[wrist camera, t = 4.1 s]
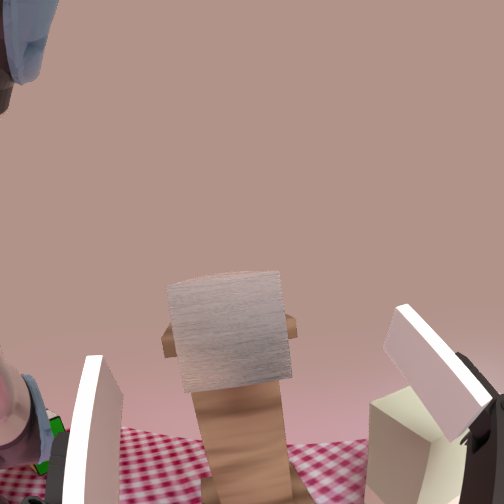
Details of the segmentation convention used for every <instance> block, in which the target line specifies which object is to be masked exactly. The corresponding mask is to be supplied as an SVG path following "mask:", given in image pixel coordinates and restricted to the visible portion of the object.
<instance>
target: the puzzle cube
mask: <svg viewBox="0 0 504 504" xmlns="http://www.w3.org/2000/svg"><path fill="white" fill-rule="evenodd" d="M45 409H46V412H47V415H48V419H49V422H50V427H51V430H52V433H53V436H54V438H55V437H56V435H57V433H58V432H66V431H65V429H64V426H63V423H62V421H61V418H60V416H58V415H57V414H55V413H53V412H52V411H50V410H48V409H47V408H46V407H45ZM29 466H30V467H31V468H32V469H33V470H34V471H35V472H36V473H37V474H38V475H40V476H41V475H43V474H45V473H47V472H48V466H49V460H48V461H44V462H42V463H41V464H36V465H35V464H31V465H29Z"/></svg>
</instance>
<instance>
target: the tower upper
mask: <svg viewBox="0 0 504 504" xmlns="http://www.w3.org/2000/svg"><path fill="white" fill-rule="evenodd" d="M499 394H500V393H499ZM369 412H370V413H369V445H368V462H367V475H366V484H367V485H368V487H369V488H370V489H371V490H372V491H373V492H374V493H375V494H376V495H377V496H378V497H379V498H380V499H381V500H382V501H383V502H384V503H385V504H448V503H449V502H451V501H452V500H453V499H455V498H456V497H457V496H459V495H460V494H461V489H462V483H463V476H464V468H465V460H466V450H467V445H464V444H465V443H466V441H467V440H466V441H465V442H464V443H463V444H462V445H460V441H461V440H462V438H463V437H464V436H465V435H466V434H467V433H468V432H469V431H470V430H469V428H467V429H466V431H465V432H464V433H463V434H462V435H461V436H459V437H458V438H456V439H455V440H453V441H452V442H449V441H448V439H447V438H446V436H445V435H444V433H443V432H442V430H441V429H440V428H439V426H438V425H437V423H436V422H435V420H434V419H433V417H432V416H431V414H430V413H429V412H428V410H427V409H426V407H425V406H424V404H423V403H422V402H421V400H420V399H419V397H418V396H417V395H416V393H415V392H414V390H413V389H412V388H411V386H408V387H406V388H404V389H401V390H399V391H397V392H394V393H392V394H390V395H387V396H385V397H382V398H380V399H377V400H375V401H372V402H370V409H369Z"/></svg>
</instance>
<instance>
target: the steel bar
mask: <svg viewBox="0 0 504 504" xmlns="http://www.w3.org/2000/svg"><path fill="white" fill-rule="evenodd" d="M166 292H167V299H168V305H169V312H170V319H171V325H172V331H173V336H174V342H175V347H176V353H177V358H178V363H179V368H180V373H181V377H182V383H183V387H184V392H185V393H189V392H200V391H209V390H218V389H226V388H233V387H240V386H247V385H253V384H259V383H265V382H271V381H276V380H281V379H286V378H292V369H291V360H290V351H289V343H288V334H287V326H286V318H285V311H284V302H283V295H282V287H281V279H280V271H234V272H227V273H220V274H212V275H204V276H201V277H197V278H193V279H189V280H186V281H182V282H178V283H174V284H171V285H167V286H166Z"/></svg>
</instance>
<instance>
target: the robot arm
mask: <svg viewBox="0 0 504 504" xmlns="http://www.w3.org/2000/svg"><path fill="white" fill-rule="evenodd" d="M58 3H59V0H0V120H1V119H2V118H4V116H5V115H6V114H7V111H8V106H9V101H10V97H11V92H12V88H13V85H14V83H18V84H20V85H23V84H25V83H27V82H32V81H34V80H35V79H36V78H37V77H38V75H39V73H40V69H41V63H42V59H43V54H44V49H45V46H46V42H47V38H48V34H49V30H50V26H51V23H52V20H53V17H54V15H55V12H56V9H57V6H58ZM383 349H384V351H385V352H386V353H387V355H388V356H389V357H390V359H391V360H392V362H393V363H394V364H395V366H396V367H397V368H398V370H399V371H400V372H401V374H402V375H403V376H404V378H405V379H406V380H407V382H408V383H409V385H410V386H411V388H412V389H413V390H414V392H415V393H416V395H417V396H418V397H419V399H420V400H421V402H422V403H423V404H424V406H425V407H426V409H427V410H428V412H429V413H430V414H431V416H432V417H433V419H434V420H435V422H436V423H437V425H438V426H439V428H440V429H441V430H442V432H443V433H444V435H445V436H446V438H447V439H448V441H449V442H452V441H453V440H455V439H456V438H458V437H459V436H461V435H462V434H463V433H464V432H465V431H466V429H467V428H469V430H470V431H469V432H468V433H467V434H466V435H465V436H464V437H463V438H462V440H461V441H460V445H462V444H463V443H464V442H465V441H466V440H467V441H466V443H465V444H464V445H467V450H466V460H465V468H464V476H463V483H462V489H461V494H460V500H459V504H504V394H501V395H500V394H499V393H498V392H497V391H496V390H495V389H494V388H493V387H492V386H491V384H490V383H489V382H488V381H487V380H486V378H485V377H484V376H483V375H482V374H481V373H480V372H479V370H478V369H477V368H476V367H475V366H474V365H473V364H472V362H471V361H470V360H469V359H468V358H467V357H466V356H464V355H462V354H461V353H459V352H457V353H454V352H453V351H452V350H451V349H450V348H449V347H448V346H447V345H446V344H445V343H444V342H443V340H442V339H441V338H440V337H439V336H438V335H437V334H436V333H435V332H434V331H433V330H432V329H431V328H430V327H429V325H427V323H426V322H425V321H424V320H423V319H422V318H421V317H420V316H419V315H418V314H417V313H416V312H415V311H414V310H413V309H412V308H411V307H410V306H409V305H408V304H405V305H402V306H398V307H396V308H395V311H394V315H393V318H392V322H391V325H390V328H389V331H388V334H387V337H386V340H385V343H384V346H383ZM122 405H123V393H122V392H121V390H120V388H119V386H118V385H117V382H116V380H115V379H114V377H113V375H112V373H111V371H110V369H109V367H108V365H107V363H106V361H105V359H104V357H103V355H97V356H87V357H86V361H85V365H84V369H83V373H82V377H81V381H80V385H79V390H78V394H77V399H76V404H75V408H74V413H73V419H72V425H71V430H70V433H68V432H58V433H57V435H56V437H55V438H54V436H53V433H52V430H51V427H50V422H49V419H48V415H47V412H46V409H45V406H44V403H43V400H42V397H41V394H40V391H39V388H38V386H37V383H36V381H35V379H34V378H33V377H32V376H30V375H24V374H20V373H19V372H18V370H17V369H16V368H15V367H14V366H12V365H11V364H10V363H9V362H8V361H6V360H5V359H4V356H3V353H2V350H1V347H0V469H6V468H13V467H19V466H25V465H31V464H35V465H36V464H41V463H42V462H44V461H48V460H49V466H48V473H47V481H46V490H45V499H44V500H43V499H41V498H39V497H37V496H28V497H26V498H24V499H23V500H22V502H21V504H119V454H120V432H121V417H122ZM0 504H9V503H8V501H7V500H6V499H5V498H4V497H3V496H2V495H1V494H0Z"/></svg>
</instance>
